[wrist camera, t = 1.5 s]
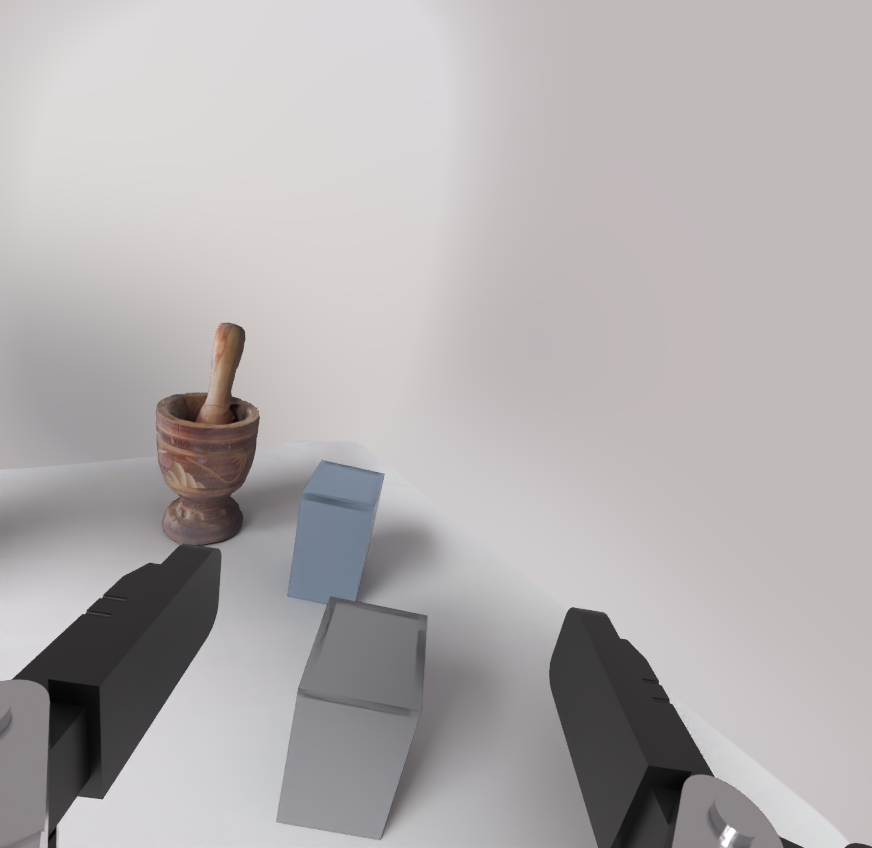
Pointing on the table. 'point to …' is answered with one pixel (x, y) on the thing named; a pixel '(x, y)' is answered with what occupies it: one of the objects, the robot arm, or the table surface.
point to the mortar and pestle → (207, 449)
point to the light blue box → (334, 532)
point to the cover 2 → (354, 719)
